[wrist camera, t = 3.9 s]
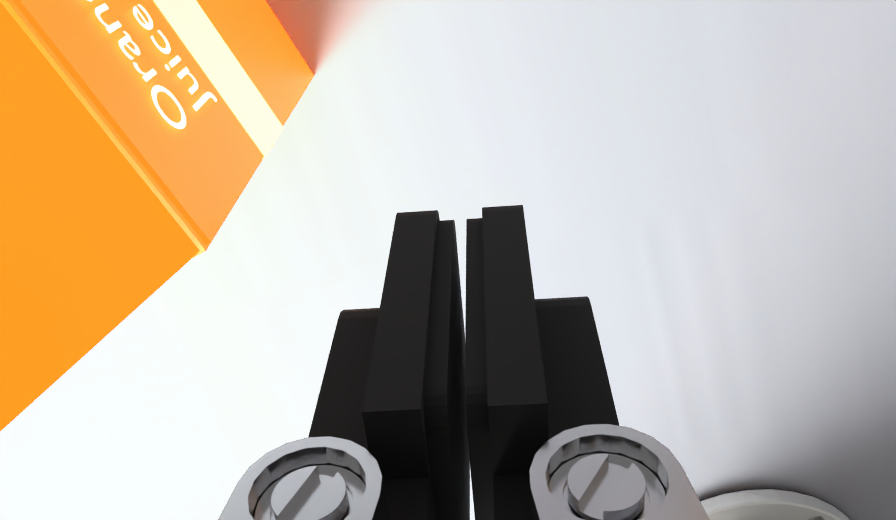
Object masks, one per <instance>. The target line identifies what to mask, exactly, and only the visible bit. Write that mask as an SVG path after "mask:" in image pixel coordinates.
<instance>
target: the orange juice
mask: <svg viewBox="0 0 896 520" xmlns="http://www.w3.org/2000/svg"><path fill="white" fill-rule="evenodd" d="M313 77H314V74H313V73H312V71H311V70H310V68H309V66H308V65H307V63H306V62H305V60H304V59H303V57H302V56H301V54H300V53H299V51H298V49H297V48H296V46H295V45H294V43H293V42H292V40H291V39H290V37H289V36H288V34H287V32H286V31H285V29H284V28H283V26H282V25H281V23H280V22H279V20H278V18H277V17H276V15H275V14H274V12H273V11H272V9H271V8H270V6H269V5H268V3H267V1H266V0H0V431H1V430H2V429H3V428H4V427H5V426H6V425H8V424H9V423H10V422H11V421H12V420H13V419H14V418H15V417H16V416H18V415H19V414H20V413H21V412H22V411H23V410H24V409H25V408H26V407H28V406H29V405H30V404H31V403H32V402H33V401H34V400H35V399H36V398H37V397H39V396H40V395H41V394H42V393H43V392H44V391H45V390H46V389H47V388H49V387H50V386H51V385H52V384H53V383H54V382H55V381H56V380H57V379H59V378H60V377H61V376H62V375H63V374H64V373H65V372H66V371H67V370H68V369H70V368H71V367H72V366H73V365H74V364H75V363H76V362H77V361H78V360H80V359H81V358H82V357H83V356H84V355H85V354H86V353H87V352H88V351H90V350H91V349H92V348H93V347H94V346H95V345H96V344H97V343H98V342H99V341H101V340H102V339H103V338H104V337H105V336H106V335H107V334H108V333H109V332H111V331H112V330H113V329H114V328H115V327H116V326H117V325H118V324H119V323H121V322H122V321H123V320H124V319H125V318H126V317H127V316H128V315H129V314H131V313H132V312H133V311H134V310H135V309H136V308H137V307H138V306H139V305H140V304H142V303H143V302H144V301H145V300H146V299H147V298H148V297H149V296H150V295H152V294H153V293H154V292H155V291H156V290H157V289H158V288H159V287H160V286H162V285H163V284H164V283H165V282H166V281H167V280H168V279H169V278H170V277H171V276H173V275H174V274H175V273H176V272H177V271H178V270H179V269H180V268H181V267H183V266H184V265H185V264H186V263H187V262H188V261H189V260H190V259H191V258H193V257H195V256H197V255H199V254H201V253H203V252H204V251H206V250H207V248H208V246H209V245H210V243H211V242H212V240H213V238H214V237H215V235H216V233H217V232H218V230H219V229H220V227H221V225H222V224H223V222H224V221H225V219H226V217H227V216H228V214H229V212H230V211H231V209H232V208H233V206H234V204H235V203H236V201H237V200H238V198H239V196H240V195H241V193H242V191H243V190H244V188H245V187H246V185H247V183H248V182H249V180H250V179H251V177H252V175H253V174H254V172H255V170H256V169H257V167H258V166H259V164H260V162H261V161H262V159H263V158H265V157H266V156H267V155H268V153H269V151H270V150H271V148H272V146H273V145H274V143H275V141H276V140H277V138H278V137H279V135H280V133H281V132H282V130H283V125H284V124H285V122H286V120H287V119H288V117H289V115H290V114H291V112H292V111H293V109H294V107H295V106H296V104H297V103H298V101H299V99H300V98H301V96H302V94H303V93H304V91H305V90H306V88H307V86H308V85H309V83H310V82H311V80H312V78H313Z"/></svg>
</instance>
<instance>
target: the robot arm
mask: <svg viewBox="0 0 896 520" xmlns="http://www.w3.org/2000/svg"><path fill="white" fill-rule="evenodd" d="M470 469H471V479H472V490H473V501H474V511H475V520H849V518H848V517H847V516H846V515H844V514H843V513H842V512H840V511H839V510H838V509H836V508H835V507H834V506H832V505H830V504H828V503H826V502H824V501H822V500H819V499H817V498H815V497H812V496H808V495H804V494H800V493H797V492H792V491H782V490H773V489H763V490H744V491H738V492H732V493H726V494H722V495H719V496H715V497H712V498H709V499H706V500H702V501H700V500H699V498H698V496H697V494H696V492H695V491H694V489H693V487H692V485H691V483H690V481H689V479H688V477H687V475H686V473H685V472H684V470H683V468H682V466H681V464H680V463H679V462H678V460H677V459H676V458H675V456H674V455H673V454H672V453H671V451H670V450H669V449H668V448H667V447H665V446H664V445H663V444H661V443H660V442H658V441H657V440H656V439H654V438H653V437H651V436H649V435H647V434H644V433H642V432H639V431H637V430H634V429H632V428H628V427H622V426H619V422H618V418H617V414H616V410H615V405H614V401H613V397H612V393H611V388H610V384H609V380H608V376H607V371H606V367H605V363H604V358H603V354H602V350H601V346H600V341H599V337H598V333H597V329H596V324H595V320H594V316H593V312H592V307H591V304H590V300H589V298H588V297H570V298H552V299H534V291H533V283H532V275H531V267H530V259H529V251H528V243H527V235H526V227H525V219H524V212H523V205H516V206H500V207H484V208H482V218H478V219H467V236H466V344H465V333H464V321H463V310H462V299H461V287H460V276H459V265H458V253H457V242H456V231H455V222H454V220H446V221H440V220H439V213H438V210H436V211H420V212H404V213H397V215H396V219H395V225H394V231H393V237H392V242H391V248H390V254H389V259H388V265H387V271H386V276H385V282H384V288H383V293H382V299H381V305H380V308H371V309H353V310H343V311H342V312H341V313H340V316H339V318H338V322H337V326H336V330H335V334H334V338H333V342H332V346H331V350H330V354H329V358H328V362H327V366H326V370H325V374H324V378H323V382H322V385H321V389H320V393H319V397H318V401H317V405H316V409H315V413H314V417H313V421H312V425H311V429H310V433H309V437H308V438H304V439H301V440H297V441H293V442H289V443H286V444H284V445H282V446H280V447H278V448H276V449H274V450H272V451H270V452H268V453H266V454H265V455H264V456H263V457H261V458H260V459H259V460H258V461H256V462H255V463H254V464H253V465H251V466H250V467H249V468H248V470H247V471H246V472H245V474H244V475H243V477H242V478H241V479H240V481H239V482H238V483H237V485H236V487H235V489H234V491H233V493H232V495H231V496H230V498H229V500H228V502H227V504H226V506H225V508H224V510H223V512H222V513H221V515H220V517H219V519H218V520H470Z"/></svg>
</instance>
